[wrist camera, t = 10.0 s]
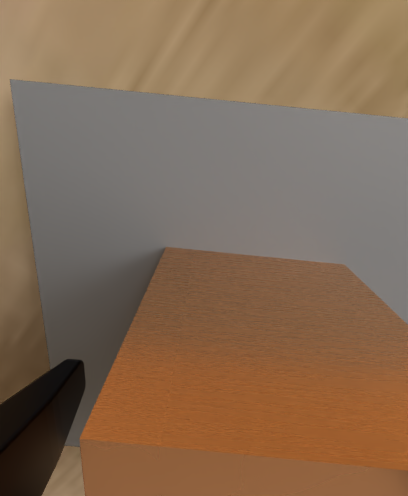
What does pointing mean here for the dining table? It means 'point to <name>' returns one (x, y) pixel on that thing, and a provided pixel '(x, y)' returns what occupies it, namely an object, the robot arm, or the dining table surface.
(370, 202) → the stand
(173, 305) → the hollow wooden cube
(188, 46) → the dining table surface
